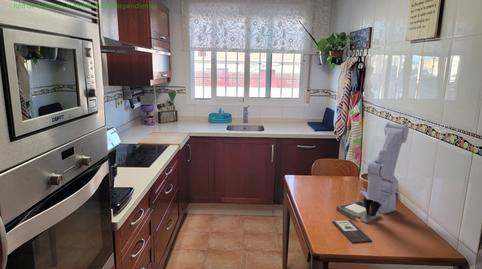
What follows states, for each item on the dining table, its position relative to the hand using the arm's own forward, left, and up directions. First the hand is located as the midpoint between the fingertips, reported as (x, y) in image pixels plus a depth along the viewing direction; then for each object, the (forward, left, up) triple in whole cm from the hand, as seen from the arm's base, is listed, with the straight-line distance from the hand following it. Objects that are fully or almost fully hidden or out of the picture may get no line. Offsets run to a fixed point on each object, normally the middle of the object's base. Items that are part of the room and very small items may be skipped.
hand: (370, 214), depth 156 cm
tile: (+1, -8, -3) cm, 9 cm away
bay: (0, -8, -2) cm, 8 cm away
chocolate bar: (+18, +5, -3) cm, 19 cm away
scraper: (0, 0, -2) cm, 2 cm away
